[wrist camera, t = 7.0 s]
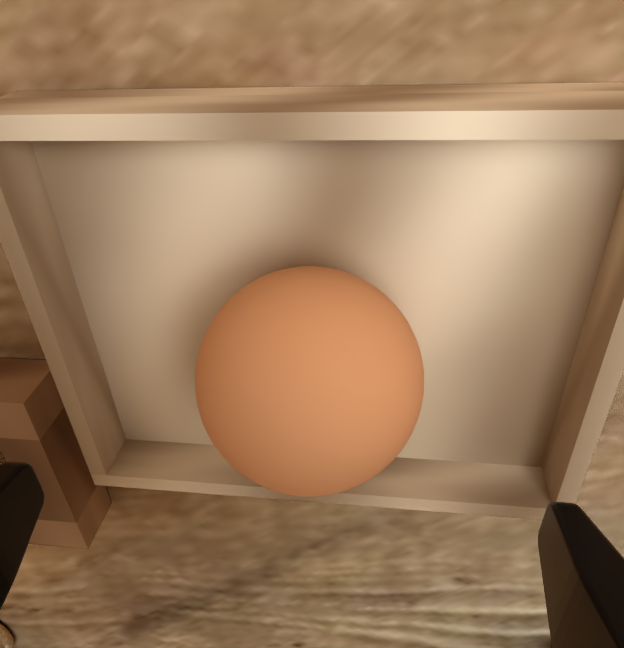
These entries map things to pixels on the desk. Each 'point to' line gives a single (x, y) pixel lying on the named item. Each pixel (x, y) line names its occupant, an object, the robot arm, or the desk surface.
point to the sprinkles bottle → (5, 638)
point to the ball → (309, 381)
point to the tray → (330, 266)
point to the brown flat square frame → (49, 454)
